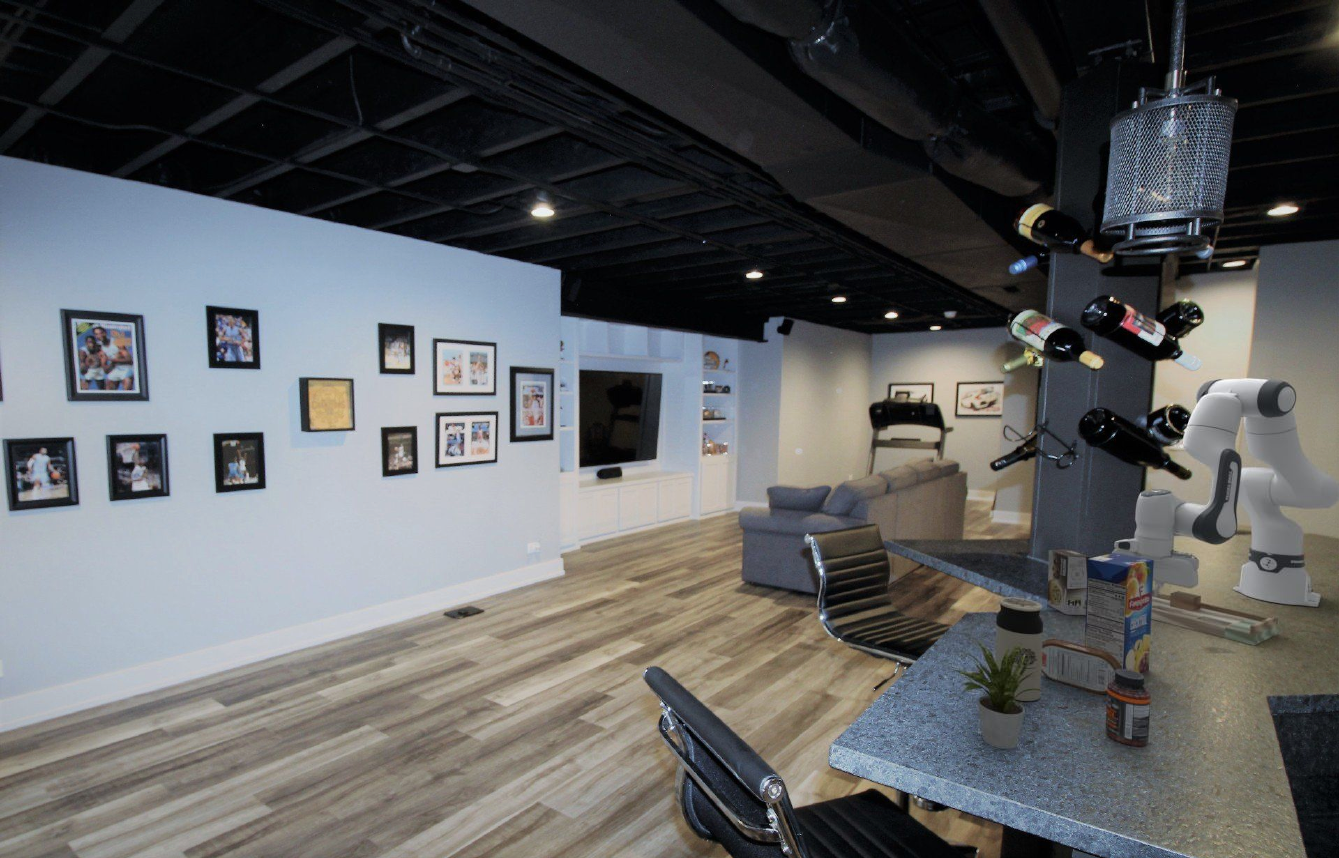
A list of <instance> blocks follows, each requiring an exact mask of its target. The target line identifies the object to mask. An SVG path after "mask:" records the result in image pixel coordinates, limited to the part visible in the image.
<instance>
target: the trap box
mask: <svg viewBox="0 0 1339 858" xmlns="http://www.w3.org/2000/svg"><path fill="white" fill-rule="evenodd" d="M1151 620H1155V621H1158V622H1163V623H1166V624H1169V625H1174V626H1178V627H1181V628H1186V629H1189V630H1193V631H1197V632H1201V633H1205V634H1209V635H1212V636H1216V637H1220V638H1224V639H1228V640H1232V641H1236V642H1240V643H1243V644H1247V645H1251V646H1255V645H1258V644H1259V643H1262V642H1264V641H1266V640H1268V639H1271V638H1272V637H1274V636H1277V635H1278V628H1279V623H1278V622H1279V616H1277V615H1276V616H1275V615H1273V616H1271V617H1266V616H1261V615H1258V614H1252V613H1249V612H1244V611H1240V610H1236V609H1231V608H1227V607H1222V606H1217V605H1213V604H1209V603H1205V602H1201V607H1200V609H1198V610H1195V611H1188V610H1184V609H1180V608H1175V607H1171V606H1170V595H1169V594H1166V593H1161V592H1159V596H1158V597H1154V596H1152V612H1151Z"/></svg>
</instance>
